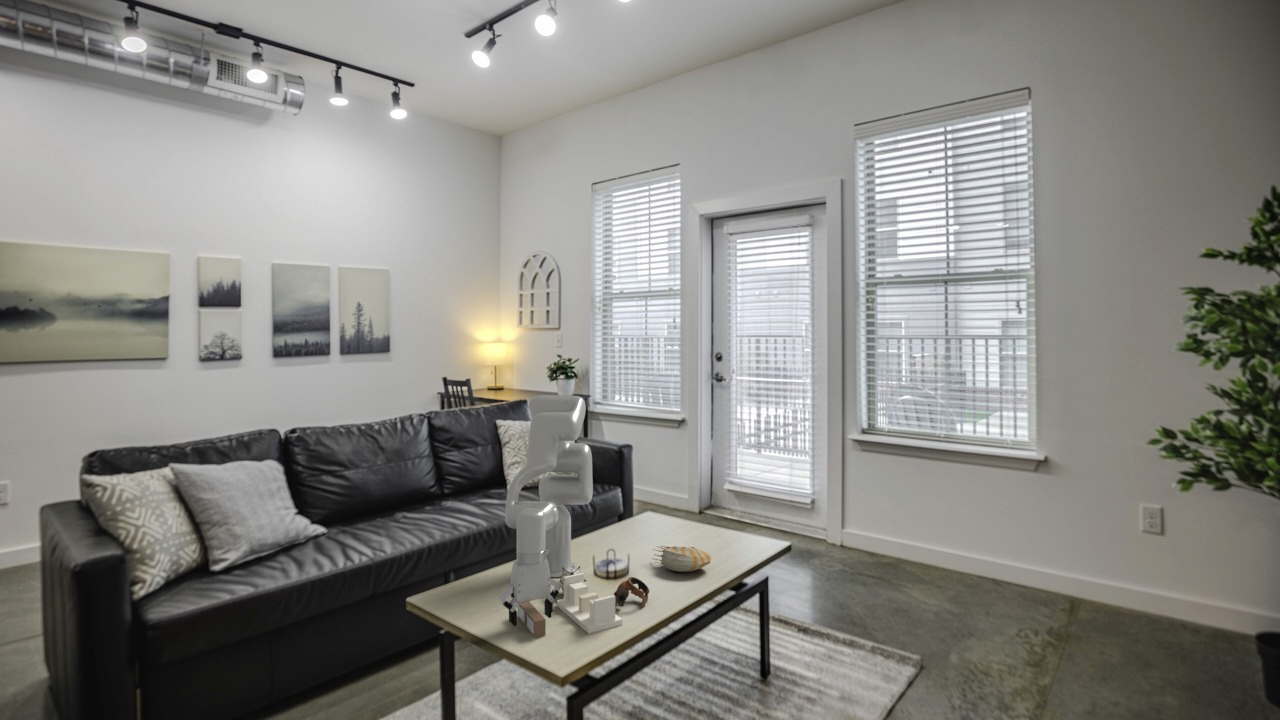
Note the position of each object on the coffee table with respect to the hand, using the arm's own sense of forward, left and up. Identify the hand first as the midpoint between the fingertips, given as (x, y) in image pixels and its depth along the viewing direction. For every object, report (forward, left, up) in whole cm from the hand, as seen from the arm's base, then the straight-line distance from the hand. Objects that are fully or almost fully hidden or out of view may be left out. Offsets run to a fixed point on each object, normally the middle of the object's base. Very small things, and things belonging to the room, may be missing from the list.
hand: (531, 620), depth 166 cm
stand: (+2, +16, -2) cm, 16 cm away
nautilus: (-14, +58, -2) cm, 60 cm away
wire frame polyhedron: (-13, +18, -2) cm, 22 cm away
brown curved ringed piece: (+2, +29, -2) cm, 29 cm away
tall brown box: (0, 0, -2) cm, 2 cm away
